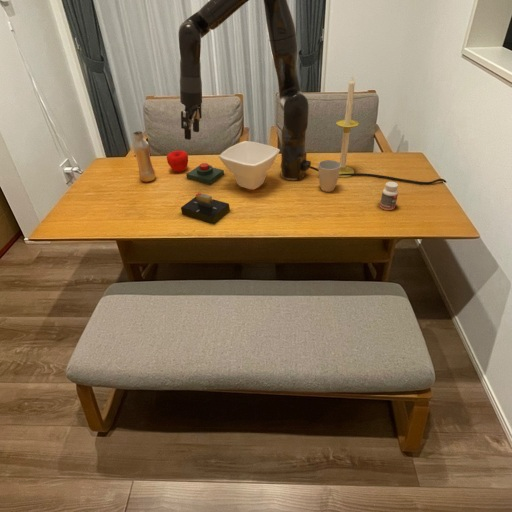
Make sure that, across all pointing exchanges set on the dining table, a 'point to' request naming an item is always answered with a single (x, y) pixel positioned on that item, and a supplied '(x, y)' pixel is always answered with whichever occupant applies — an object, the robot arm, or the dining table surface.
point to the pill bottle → (389, 196)
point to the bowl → (249, 162)
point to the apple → (177, 160)
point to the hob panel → (205, 211)
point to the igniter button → (204, 166)
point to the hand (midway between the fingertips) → (192, 135)
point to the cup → (328, 174)
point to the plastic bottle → (143, 157)
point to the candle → (347, 130)
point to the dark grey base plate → (205, 175)
